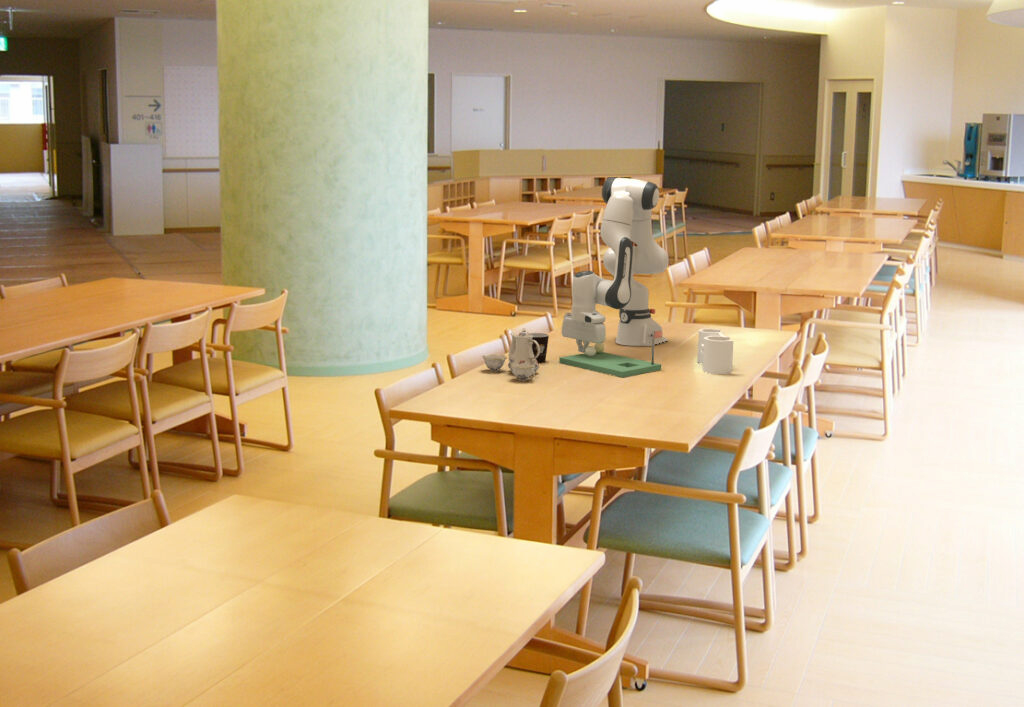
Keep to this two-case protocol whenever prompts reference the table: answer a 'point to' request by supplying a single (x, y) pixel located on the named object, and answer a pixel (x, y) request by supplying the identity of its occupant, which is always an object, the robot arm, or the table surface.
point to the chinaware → (517, 357)
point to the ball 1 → (590, 351)
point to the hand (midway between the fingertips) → (582, 351)
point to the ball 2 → (599, 347)
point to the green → (610, 364)
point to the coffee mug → (543, 342)
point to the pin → (654, 335)
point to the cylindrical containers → (715, 351)
